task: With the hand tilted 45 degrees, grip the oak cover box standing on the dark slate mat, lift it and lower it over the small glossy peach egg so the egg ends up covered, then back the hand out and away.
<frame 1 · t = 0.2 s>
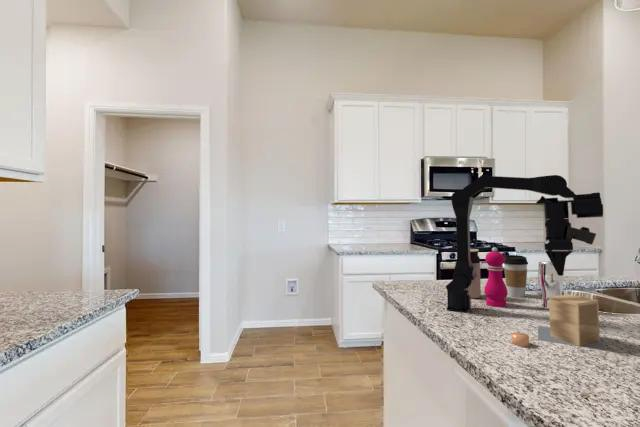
hand: (560, 273, 96), 14 cm above the countertop, tool pointing down, fingers open, 9 cm apart
cover box: (574, 338, 83), on the countertop, touching slate mat
coffee cup: (516, 295, 129), on the countertop
beer glass: (551, 308, 111), on the countertop
pepper mill: (496, 305, 117), on the countertop
travel mug: (469, 296, 129), on the countertop
slate mat: (568, 338, 84), on the countertop
glossy peach egg: (520, 345, 81), on the countertop
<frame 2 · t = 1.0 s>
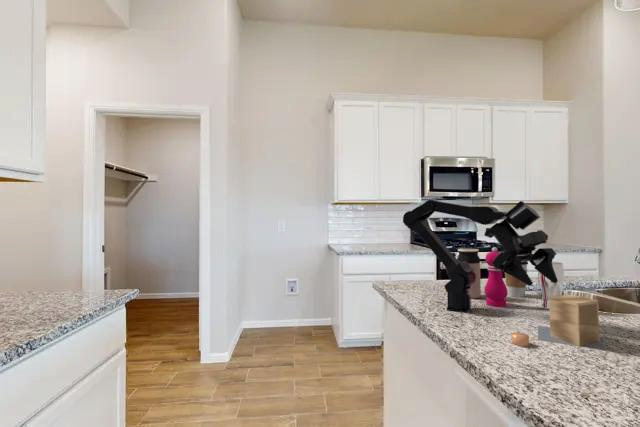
hand: (544, 283, 90), 13 cm above the countertop, tool tilted 45°, fingers open, 9 cm apart
nothing on the countertop moved.
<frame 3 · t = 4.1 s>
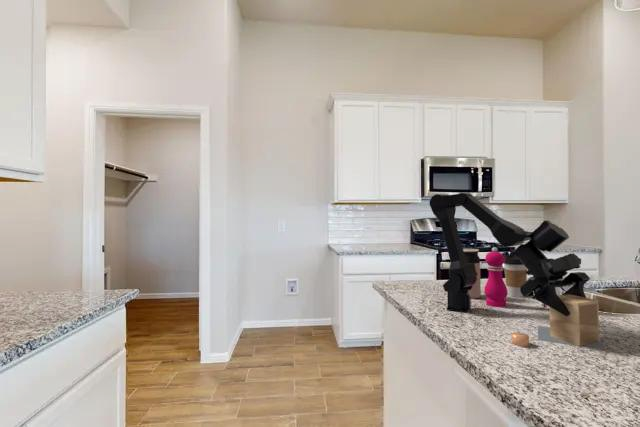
hand: (579, 313, 82), 7 cm above the countertop, tool tilted 45°, fingers closed on cover box, 7 cm apart
cover box: (574, 338, 83), on the countertop, touching gripper, slate mat
everything else where it was.
when the fingers open (8 cm above the countertop, at t = 10.9 s): cover box stays where it is, on the countertop.
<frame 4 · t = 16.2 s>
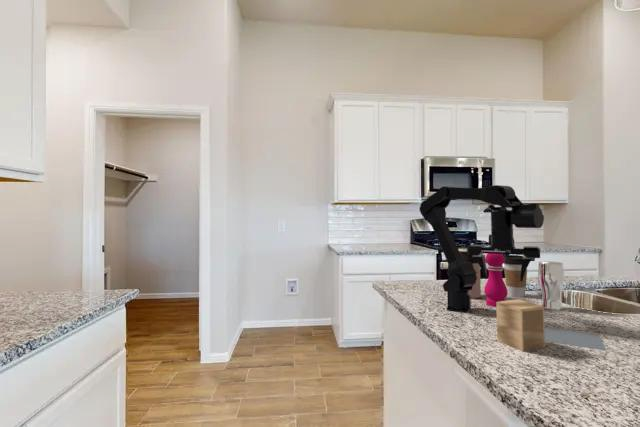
hand: (503, 280, 99), 12 cm above the countertop, tool pointing down, fingers open, 9 cm apart
cover box: (520, 345, 81), on the countertop
everything else where it was.
at the end: cover box 0.1 cm from the glossy peach egg (horizontally); cover box on the countertop; cover box tilted 0° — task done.
